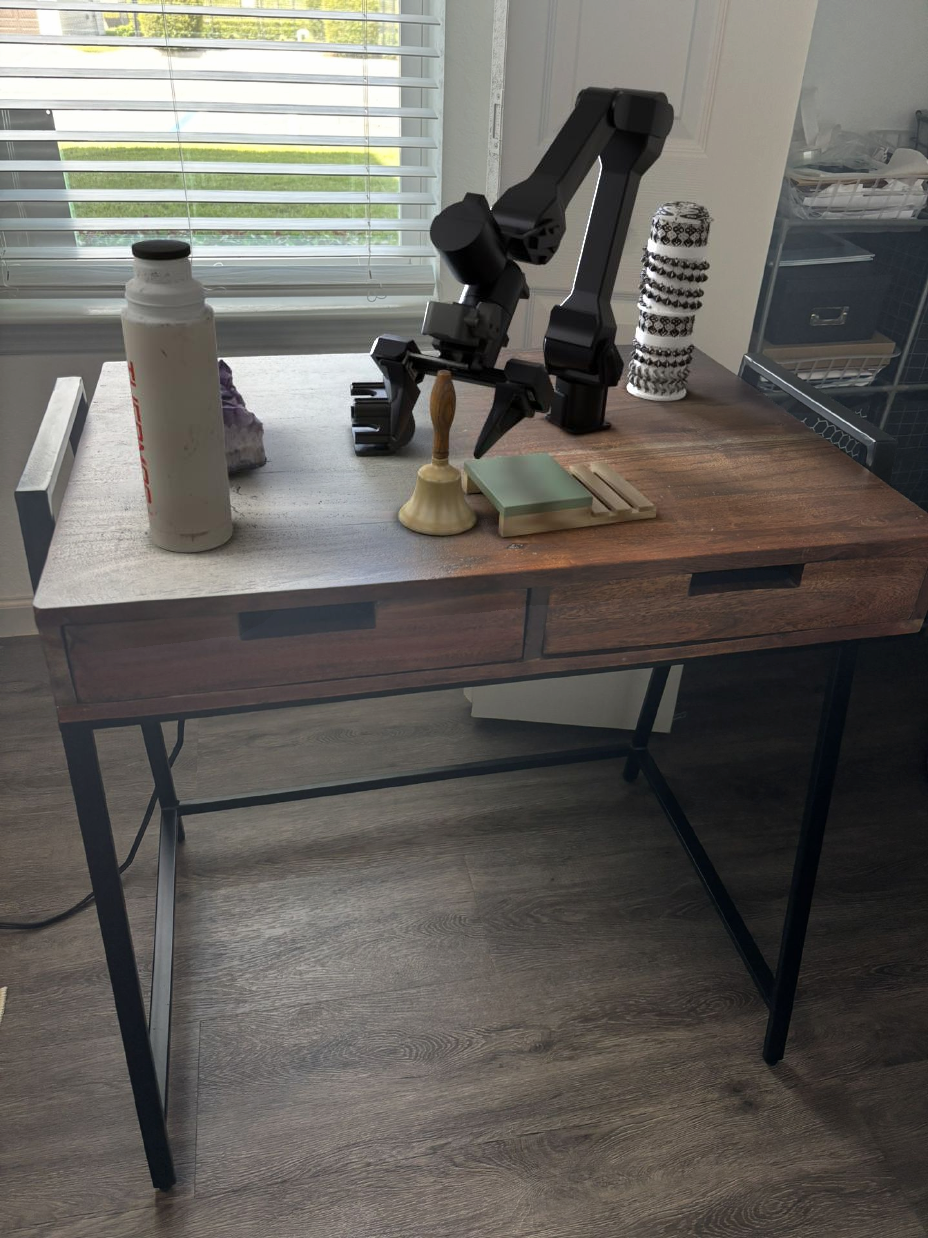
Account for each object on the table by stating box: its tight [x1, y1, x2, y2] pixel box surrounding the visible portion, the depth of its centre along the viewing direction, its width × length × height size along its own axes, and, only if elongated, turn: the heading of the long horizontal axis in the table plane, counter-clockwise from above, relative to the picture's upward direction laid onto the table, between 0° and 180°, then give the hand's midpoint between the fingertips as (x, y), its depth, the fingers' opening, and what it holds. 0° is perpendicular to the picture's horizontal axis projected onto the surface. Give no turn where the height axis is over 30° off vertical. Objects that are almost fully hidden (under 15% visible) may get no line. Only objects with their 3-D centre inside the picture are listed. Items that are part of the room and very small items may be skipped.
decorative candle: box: [626, 201, 715, 402], centre depth 136 cm, size 9×9×25 cm
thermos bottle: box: [120, 238, 234, 553], centre depth 93 cm, size 8×8×28 cm
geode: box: [218, 358, 268, 475], centre depth 115 cm, size 20×12×10 cm, turn 19°
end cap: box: [349, 374, 417, 457], centre depth 121 cm, size 10×7×7 cm
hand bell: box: [397, 370, 478, 536], centre depth 102 cm, size 8×8×16 cm
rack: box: [462, 451, 658, 538], centre depth 109 cm, size 18×12×4 cm, turn 110°
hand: (434, 447), depth 100 cm, fingers open, 9 cm apart
